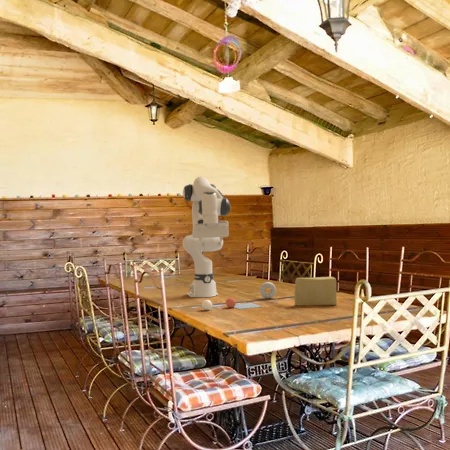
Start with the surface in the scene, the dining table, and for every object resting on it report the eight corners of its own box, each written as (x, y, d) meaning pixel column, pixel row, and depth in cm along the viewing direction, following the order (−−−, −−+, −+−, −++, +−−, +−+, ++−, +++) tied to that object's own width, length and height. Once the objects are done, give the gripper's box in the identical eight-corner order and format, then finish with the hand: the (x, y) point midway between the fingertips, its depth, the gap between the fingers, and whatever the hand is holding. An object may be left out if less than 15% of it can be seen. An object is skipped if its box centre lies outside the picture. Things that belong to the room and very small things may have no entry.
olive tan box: (296, 306, 275) (295, 279, 275) (293, 304, 285) (292, 277, 285) (337, 305, 276) (336, 277, 275) (332, 302, 285) (332, 275, 285)
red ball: (224, 307, 279) (224, 297, 279) (233, 306, 281) (233, 296, 281) (228, 308, 274) (228, 298, 274) (237, 307, 276) (237, 297, 276)
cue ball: (200, 309, 273) (200, 299, 273) (209, 308, 276) (209, 298, 276) (204, 311, 268) (204, 301, 268) (214, 310, 271) (213, 300, 271)
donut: (259, 299, 304) (259, 282, 304) (259, 298, 307) (259, 281, 307) (276, 298, 304) (276, 282, 304) (276, 297, 307) (275, 281, 307)
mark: (228, 305, 285) (228, 305, 285) (250, 303, 291) (250, 302, 291) (239, 309, 272) (239, 308, 272) (262, 306, 278) (262, 306, 278)
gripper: (227, 220, 287) (228, 245, 287) (191, 221, 283) (192, 246, 283) (229, 220, 281) (230, 245, 281) (192, 221, 277) (193, 246, 277)
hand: (211, 245), depth 282 cm, fingers open, 8 cm apart
